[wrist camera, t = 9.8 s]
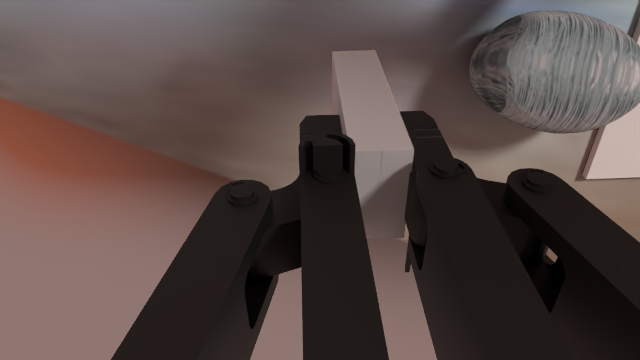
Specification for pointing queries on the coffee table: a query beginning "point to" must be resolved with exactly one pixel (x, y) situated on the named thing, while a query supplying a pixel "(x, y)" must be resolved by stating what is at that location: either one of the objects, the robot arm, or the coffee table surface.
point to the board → (617, 144)
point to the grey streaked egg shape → (557, 71)
